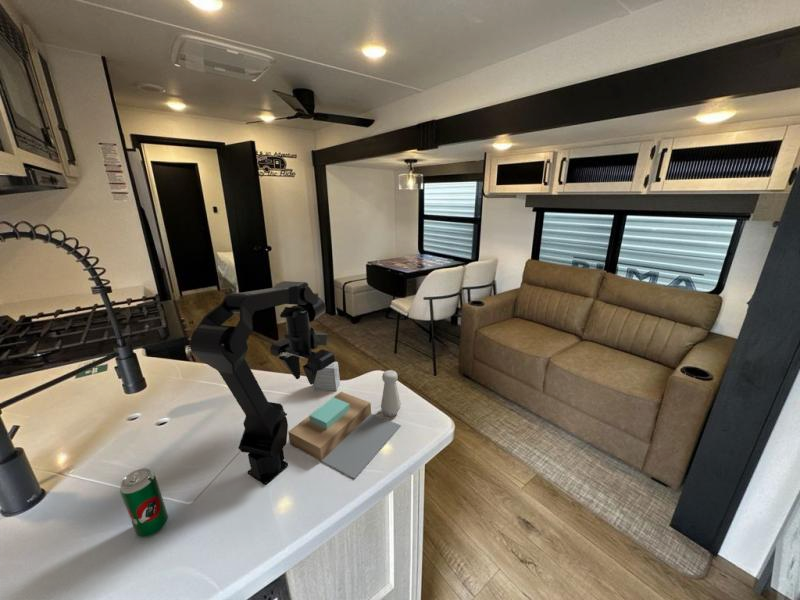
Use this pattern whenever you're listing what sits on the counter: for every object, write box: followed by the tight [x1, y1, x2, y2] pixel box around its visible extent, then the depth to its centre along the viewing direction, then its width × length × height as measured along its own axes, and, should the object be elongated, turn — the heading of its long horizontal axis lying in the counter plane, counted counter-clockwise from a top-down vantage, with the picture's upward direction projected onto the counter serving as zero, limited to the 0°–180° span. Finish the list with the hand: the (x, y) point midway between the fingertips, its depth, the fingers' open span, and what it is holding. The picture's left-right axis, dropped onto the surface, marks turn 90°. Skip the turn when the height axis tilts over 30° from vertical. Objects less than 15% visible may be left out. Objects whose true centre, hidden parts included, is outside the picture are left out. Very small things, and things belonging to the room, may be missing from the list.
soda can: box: [119, 467, 169, 538], centre depth 59 cm, size 5×5×12 cm
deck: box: [287, 391, 372, 463], centre depth 86 cm, size 20×11×4 cm, turn 149°
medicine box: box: [312, 361, 341, 392], centre depth 104 cm, size 8×4×9 cm, turn 84°
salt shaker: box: [380, 369, 402, 418], centre depth 91 cm, size 6×6×13 cm
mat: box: [321, 413, 402, 480], centre depth 81 cm, size 20×10×1 cm, turn 149°
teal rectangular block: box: [308, 396, 350, 429], centre depth 85 cm, size 9×6×2 cm, turn 149°
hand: (305, 381), depth 87 cm, fingers open, 5 cm apart
